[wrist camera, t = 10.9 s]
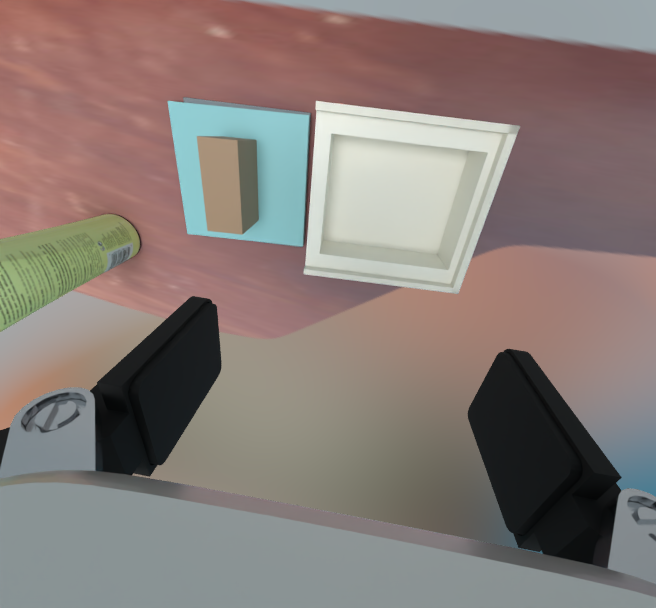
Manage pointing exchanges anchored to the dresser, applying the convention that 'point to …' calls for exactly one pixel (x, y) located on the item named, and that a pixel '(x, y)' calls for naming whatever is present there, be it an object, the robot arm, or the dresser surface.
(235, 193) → the lid
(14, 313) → the tube
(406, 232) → the box
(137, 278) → the dresser surface
